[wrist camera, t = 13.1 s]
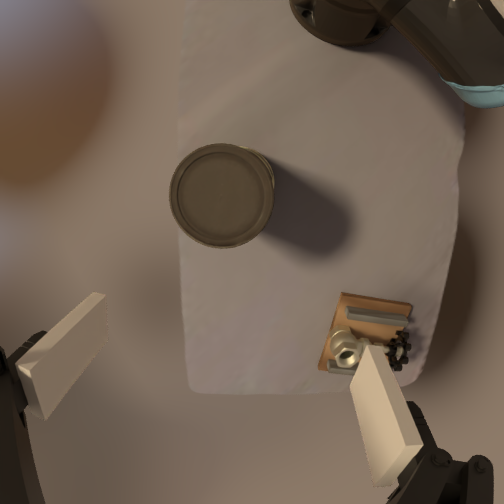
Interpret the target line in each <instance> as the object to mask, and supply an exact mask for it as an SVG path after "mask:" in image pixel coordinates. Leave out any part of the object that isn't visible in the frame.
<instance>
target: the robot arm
mask: <svg viewBox="0 0 504 504" xmlns="http://www.w3.org/2000/svg"><path fill="white" fill-rule="evenodd" d="M289 2H290V7H291V10H292V12H293V14H294V16H295V17H296V19H297V20H298V22H299V23H300V24H301V25H302V26H303V27H304V28H305V29H306V30H307V31H309V32H310V33H311V34H313V35H314V36H316V37H318V38H320V39H322V40H324V41H326V42H329V43H332V44H336V45H341V46H361V45H366V44H369V43H371V42H374V41H375V40H377V39H378V38H380V37H381V36H382V35H383V34H384V33H385V32H386V31H387V30H388V28H389V27H390V26H391V24H392V25H393V26H394V27H395V28H396V29H397V30H398V31H399V32H400V33H401V34H402V35H403V36H404V37H405V38H406V39H407V40H408V41H409V42H410V43H411V44H412V45H413V46H414V47H415V48H416V49H417V50H418V51H419V52H420V53H421V54H422V55H423V56H424V57H425V58H426V59H427V60H428V61H429V63H430V64H431V65H432V66H433V67H434V68H435V69H436V70H437V71H438V75H439V76H440V78H441V79H442V80H443V81H444V82H445V83H447V84H448V85H449V86H450V87H451V88H452V89H453V90H454V91H455V92H456V94H457V95H458V96H459V97H460V98H461V99H462V100H463V101H465V102H466V103H468V104H470V105H471V106H474V107H478V108H495V107H500V106H504V0H289ZM106 304H107V303H106V295H104V294H100V293H96V292H93V293H92V294H91V295H90V296H88V297H87V298H86V299H85V300H84V301H82V302H81V303H80V304H79V305H78V306H77V307H76V308H75V309H73V310H72V311H71V312H70V313H69V314H68V315H67V316H66V317H64V318H63V319H62V320H61V321H60V322H59V323H58V324H57V325H55V326H54V327H53V328H52V329H51V330H50V331H49V332H46V331H41V332H38V333H36V334H34V335H33V336H31V338H29V339H28V340H27V342H25V343H24V344H23V345H22V347H19V348H18V349H17V350H16V351H15V352H14V353H13V354H12V355H11V356H10V357H8V358H7V359H6V356H5V352H4V349H3V348H1V346H0V504H45V501H44V497H43V494H42V490H41V487H40V483H39V479H38V475H37V471H36V467H35V463H34V459H33V454H32V449H31V444H30V439H29V434H28V428H27V422H26V416H25V412H24V409H25V407H26V406H27V405H28V406H29V408H30V411H31V414H33V415H35V416H37V417H39V418H41V419H43V420H45V421H46V420H47V418H48V417H49V416H50V414H51V413H52V412H53V410H54V409H55V408H56V406H57V405H58V404H59V402H60V401H61V400H62V398H63V397H64V396H65V394H66V393H67V392H68V391H69V389H70V388H71V387H72V385H73V384H74V383H75V381H76V380H77V379H78V377H79V376H80V375H81V374H82V372H83V371H84V370H85V369H86V367H87V366H88V365H89V364H90V362H91V361H92V360H93V359H94V357H95V356H96V355H97V353H98V352H99V351H100V349H101V348H102V347H103V346H104V345H105V343H106V342H107V341H108V326H107V305H106ZM350 390H351V394H352V397H353V401H354V405H355V409H356V413H357V417H358V421H359V425H360V429H361V434H362V438H363V442H364V446H365V451H366V455H367V459H368V464H369V468H370V472H371V476H372V482H373V487H384V486H391V485H392V483H393V482H394V481H395V480H396V479H398V483H399V486H398V487H397V488H396V489H395V491H394V492H393V493H392V494H391V495H390V496H389V497H388V499H389V500H388V502H387V503H386V504H493V494H494V493H493V492H494V489H493V488H494V482H493V481H494V476H493V465H492V463H491V462H490V460H489V459H488V458H486V457H485V456H482V455H475V456H472V457H471V459H470V460H469V461H468V462H461V461H455V460H453V459H452V457H451V455H450V454H449V453H448V452H446V451H445V450H443V449H440V448H438V447H437V445H436V443H435V441H434V438H433V436H432V434H431V431H430V429H429V427H428V425H427V422H426V420H425V419H424V416H423V414H422V411H421V409H420V408H419V407H418V406H417V405H416V404H415V403H414V402H413V401H405V399H404V397H403V394H402V392H401V390H400V387H399V385H398V383H397V381H396V378H395V376H394V374H393V372H392V370H391V367H390V365H389V363H388V361H387V359H386V357H385V354H384V352H383V350H382V348H381V346H375V345H367V346H366V348H365V351H364V353H363V356H362V358H361V361H360V363H359V366H358V368H357V370H356V373H355V375H354V377H353V380H352V382H351V384H350Z"/></svg>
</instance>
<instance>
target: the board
mask: <svg viewBox="0 0 504 504" xmlns="http://www.w3.org/2000/svg"><path fill="white" fill-rule="evenodd" d="M411 307H412V306H411V305H410V304H409V303H404V302H398V301H391V300H385V299H379V298H373V297H367V296H361V295H355V294H349V293H343V292H341V295H340V299H339V302H338V305H337V308H336V312H335V315H334V318H333V321H332V325H331V328H330V331H331V330H332V329H333V328H334V327H335V326H337V325H345V326H349V328H350V331H351V334H353V335H354V336H355V338H356V339H360V338H368V339H369V342H371V343H372V345H373V344H374V343H382V344H383V345H384V346H386V345H387V344H388V343H389V342H390V340H391V338H397V337H398V335H395V333H396V331H397V330H400V331H403V328H404V327H407V325H408V322H409V321H408V320H407V318H408V315H409V313H410V310H411ZM330 331H329V332H330ZM330 341H331V339H330V336H329V334H328V337H327V340H326V343H325V346H324V349H323V352H322V355H321V358H320V361H319V364H318V370H323V371H328V373H335V374H344V375H355V373H356V370H357V368H358V366H359V363H360V361H361V358H362V357H360V359H359V361H358V362H357V363H356V364H354V365H353V366H352V367H350V368H344V367H339V366H338V365H337V362H336V359H335V357H334V356H333V354H332V353H331V350H330ZM384 354H385V353H384ZM385 357H386V359H387V361H388V356H386V355H385ZM388 363H389V361H388Z"/></svg>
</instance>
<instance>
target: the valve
mask: <svg viewBox="0 0 504 504" xmlns="http://www.w3.org/2000/svg"><path fill="white" fill-rule="evenodd" d="M395 335H398V337H397V338H391V340H390V342H389V343H388V344H387V345H386V346H384V345H383V344H382V343H374V344H373V345H375V346H381V348H382V350H383V352H384V353H385V355H386V356H388V361H389V365H390V367H391V368H394V371H401V370H402V364H407V363H408V357H406V355H407V351H410V350H411V344H409V343H407V339H408V338H409V333H407V332H403V331H400V330H397V331H396V333H395ZM329 336H330V339H331V341H330V350H331V353H332V354H333V356H334V357H335V359H336V362H337V365H338V366H339V367H344V368H350V367H352V366H353V365H354V364H356V363H357V362H358V361H359V359H360V357H362V356H363V353H364V351H365V348H366V346H367V345H372V343H371V342H369V339H368V338H360V339H356V338H355V336H354V335H353V334H351V331H350V328H349V326H345V325H337V326H335V327H334V328H333V329H332V330H331V331H330V332H329ZM400 341H401V342H402V343H399V342H400ZM402 347H403V349H402ZM401 354H402V355H401ZM400 355H401V357H400V359H399V360H397V358H396V356H400ZM396 366H397V367H396Z"/></svg>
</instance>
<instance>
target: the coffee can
mask: <svg viewBox="0 0 504 504" xmlns="http://www.w3.org/2000/svg"><path fill="white" fill-rule="evenodd" d="M169 201H170V208H171V211H172V214H173V216H174V219H175V220H176V222H177V224H178V225H179V227H180V228H181V229H182V230H183V231H184V233H185V234H187V235H188V236H189V237H190V238H192V239H193V240H194V241H196V242H198V243H200V244H202V245H205V246H208V247H212V248H221V249H222V248H233V247H237V246H240V245H243V244H245V243H247V242H249V241H250V240H252V239H253V238H255V237H256V236H257V235H258V234H259V233H260V232H261V231H262V230H263V228H264V227H265V226H266V224H267V222H268V220H269V218H270V216H271V213H272V210H273V206H274V174H273V171H272V169H271V166H270V165H269V163H268V162H267V160H266V159H265V158H264V157H263V156H262V155H261V154H260V153H258V152H257V151H255V150H253V149H250V148H247V147H242V146H236V145H231V144H223V143H221V144H211V145H207V146H204V147H201V148H198V149H196V150H195V151H193V152H192V153H190V154H189V155H188V156H186V157H185V158H184V159H183V160H182V162H181V163H180V164H179V165H178V167H177V168H176V170H175V172H174V174H173V177H172V180H171V183H170V189H169Z"/></svg>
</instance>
